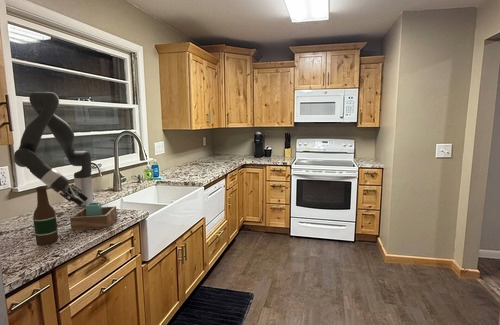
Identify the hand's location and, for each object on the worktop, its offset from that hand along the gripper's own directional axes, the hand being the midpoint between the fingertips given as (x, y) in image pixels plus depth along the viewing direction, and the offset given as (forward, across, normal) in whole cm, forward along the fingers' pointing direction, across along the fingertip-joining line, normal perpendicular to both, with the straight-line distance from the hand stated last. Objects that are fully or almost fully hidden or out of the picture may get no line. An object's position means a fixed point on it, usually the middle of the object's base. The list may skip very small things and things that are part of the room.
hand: (84, 201), depth 142 cm
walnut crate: (+11, 0, +5) cm, 12 cm away
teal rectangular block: (+10, 0, +4) cm, 11 cm away
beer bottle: (+1, -20, +15) cm, 25 cm away
